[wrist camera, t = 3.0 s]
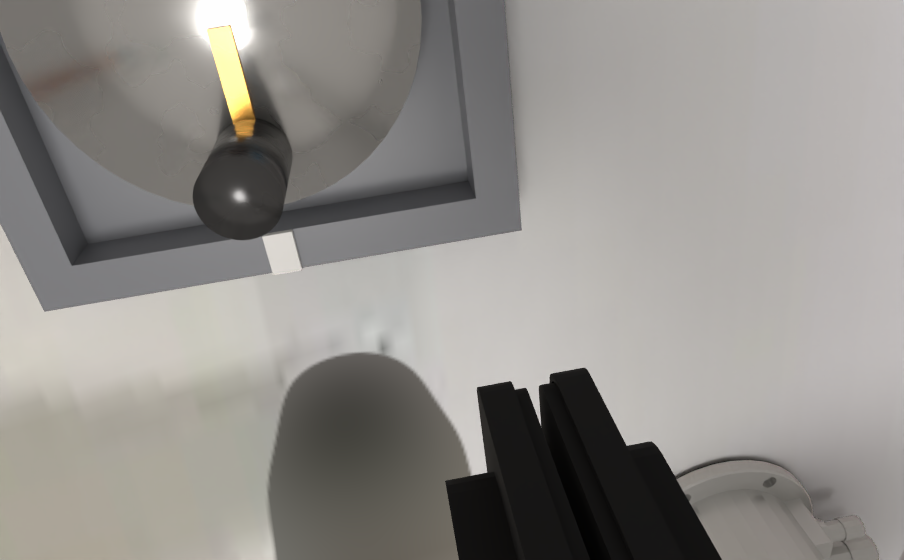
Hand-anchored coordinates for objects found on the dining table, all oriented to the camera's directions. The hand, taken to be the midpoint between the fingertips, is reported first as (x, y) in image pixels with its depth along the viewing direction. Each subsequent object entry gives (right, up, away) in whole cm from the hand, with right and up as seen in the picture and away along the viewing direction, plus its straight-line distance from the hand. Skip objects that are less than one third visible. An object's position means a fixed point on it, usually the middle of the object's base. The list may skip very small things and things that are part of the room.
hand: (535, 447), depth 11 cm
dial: (-10, +12, +14) cm, 21 cm away
